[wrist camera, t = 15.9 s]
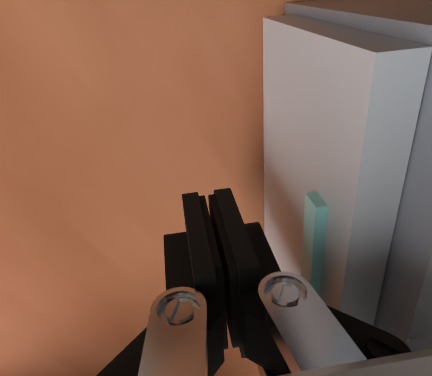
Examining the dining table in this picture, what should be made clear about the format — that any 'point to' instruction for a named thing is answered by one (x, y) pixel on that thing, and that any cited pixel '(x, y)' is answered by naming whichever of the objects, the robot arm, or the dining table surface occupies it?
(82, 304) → the dining table surface
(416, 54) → the grey rectangular fixture
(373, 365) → the robot arm
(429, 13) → the housing
